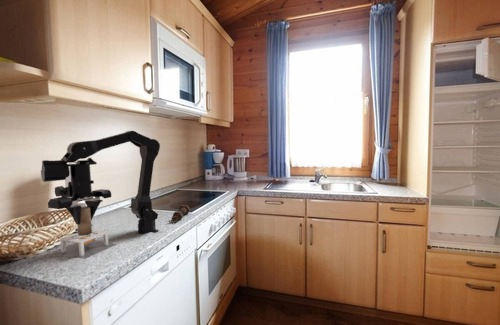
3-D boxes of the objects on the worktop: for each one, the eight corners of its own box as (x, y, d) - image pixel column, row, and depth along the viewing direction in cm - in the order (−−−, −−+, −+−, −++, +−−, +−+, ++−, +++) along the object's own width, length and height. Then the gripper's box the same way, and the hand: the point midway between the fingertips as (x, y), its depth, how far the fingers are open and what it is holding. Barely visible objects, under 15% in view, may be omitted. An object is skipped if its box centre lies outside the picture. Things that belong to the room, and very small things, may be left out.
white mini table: (86, 241, 96) (85, 227, 96) (117, 246, 91) (116, 232, 90) (52, 254, 85) (51, 238, 85) (85, 261, 79) (84, 244, 79)
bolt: (173, 226, 118) (183, 216, 133) (181, 221, 117) (191, 212, 132) (166, 216, 117) (178, 207, 132) (175, 211, 117) (186, 202, 132)
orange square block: (86, 239, 90) (86, 235, 90) (94, 241, 89) (94, 236, 89) (75, 243, 86) (75, 239, 86) (83, 245, 85) (83, 241, 85)
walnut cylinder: (86, 231, 90) (84, 206, 89) (94, 232, 89) (92, 207, 88) (75, 234, 86) (73, 209, 86) (83, 236, 85) (81, 210, 84)
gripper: (90, 174, 97) (92, 213, 99) (35, 181, 80) (39, 228, 81) (111, 175, 93) (113, 215, 95) (57, 182, 76) (61, 232, 77)
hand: (84, 222), depth 87 cm, fingers closed on walnut cylinder, 4 cm apart
